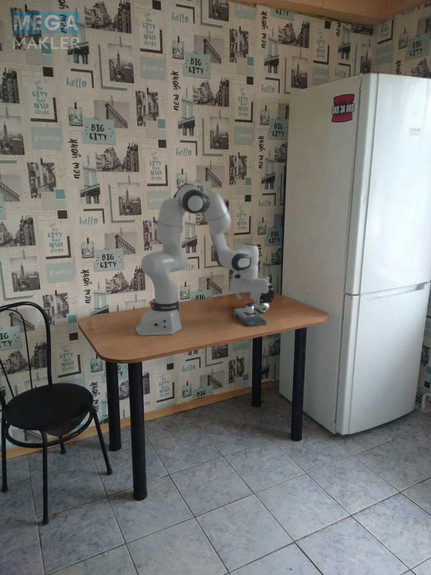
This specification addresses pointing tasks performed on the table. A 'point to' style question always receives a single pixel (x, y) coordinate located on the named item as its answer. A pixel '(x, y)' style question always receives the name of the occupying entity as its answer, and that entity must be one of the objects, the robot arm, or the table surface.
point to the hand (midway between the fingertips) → (248, 300)
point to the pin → (250, 308)
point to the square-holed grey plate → (250, 317)
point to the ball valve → (263, 299)
